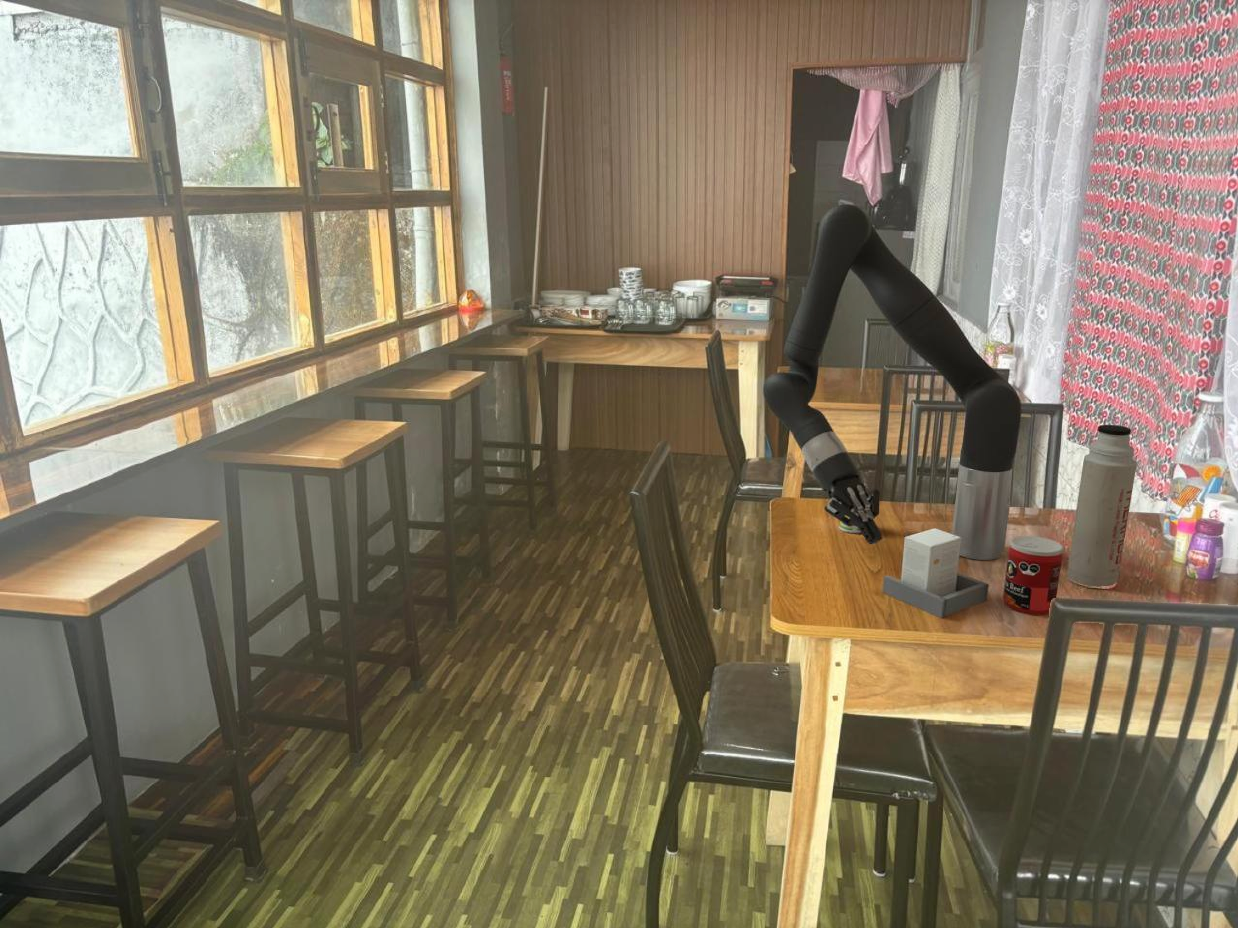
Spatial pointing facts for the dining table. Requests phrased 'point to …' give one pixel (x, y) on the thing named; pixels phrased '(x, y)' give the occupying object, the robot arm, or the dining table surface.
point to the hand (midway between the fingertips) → (876, 541)
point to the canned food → (1032, 574)
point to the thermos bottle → (1102, 508)
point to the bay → (965, 596)
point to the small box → (931, 561)
